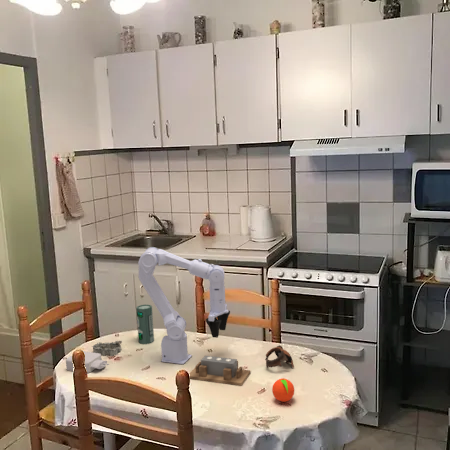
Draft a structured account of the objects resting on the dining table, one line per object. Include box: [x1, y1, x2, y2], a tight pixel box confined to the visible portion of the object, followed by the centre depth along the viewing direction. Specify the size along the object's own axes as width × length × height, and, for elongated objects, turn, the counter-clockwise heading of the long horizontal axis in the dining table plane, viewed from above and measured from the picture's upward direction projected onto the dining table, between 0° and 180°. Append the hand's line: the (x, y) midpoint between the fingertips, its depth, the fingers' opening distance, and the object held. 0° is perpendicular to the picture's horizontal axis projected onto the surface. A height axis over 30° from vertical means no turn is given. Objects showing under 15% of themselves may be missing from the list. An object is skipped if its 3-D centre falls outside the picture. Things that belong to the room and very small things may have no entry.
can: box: [135, 304, 155, 345], centre depth 213 cm, size 6×6×15 cm
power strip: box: [200, 355, 238, 378], centre depth 179 cm, size 12×4×5 cm, turn 70°
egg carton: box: [91, 340, 123, 357], centre depth 204 cm, size 11×8×4 cm
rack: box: [188, 360, 252, 387], centre depth 179 cm, size 20×10×4 cm, turn 70°
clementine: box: [271, 377, 295, 403], centre depth 160 cm, size 8×7×7 cm
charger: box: [65, 350, 110, 374], centre depth 190 cm, size 5×9×15 cm
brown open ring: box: [264, 345, 295, 369], centre depth 186 cm, size 12×10×8 cm
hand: (218, 333), depth 193 cm, fingers open, 7 cm apart
